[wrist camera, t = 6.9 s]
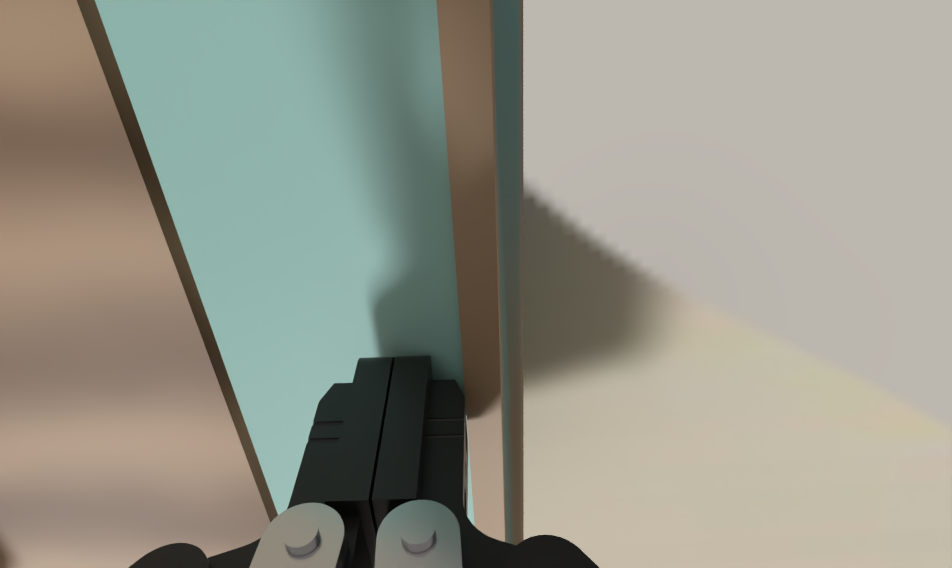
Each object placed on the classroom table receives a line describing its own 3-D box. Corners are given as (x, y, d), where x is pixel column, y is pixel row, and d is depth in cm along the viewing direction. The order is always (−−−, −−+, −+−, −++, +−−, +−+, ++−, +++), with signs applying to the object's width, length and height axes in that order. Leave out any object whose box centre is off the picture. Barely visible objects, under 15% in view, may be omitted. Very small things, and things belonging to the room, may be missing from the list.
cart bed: (-382, -93, 14) (-888, -67, 9) (133, -120, 14) (-67, -110, 9) (36, 505, 27) (-73, 667, 21) (314, 494, 27) (276, 653, 21)
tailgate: (60, -80, 11) (486, -90, 8) (120, -87, 12) (523, -96, 9) (303, 594, 22) (509, 694, 19) (323, 565, 23) (523, 657, 20)
